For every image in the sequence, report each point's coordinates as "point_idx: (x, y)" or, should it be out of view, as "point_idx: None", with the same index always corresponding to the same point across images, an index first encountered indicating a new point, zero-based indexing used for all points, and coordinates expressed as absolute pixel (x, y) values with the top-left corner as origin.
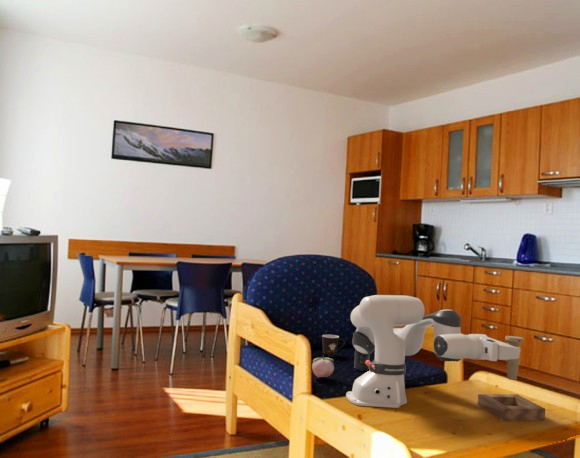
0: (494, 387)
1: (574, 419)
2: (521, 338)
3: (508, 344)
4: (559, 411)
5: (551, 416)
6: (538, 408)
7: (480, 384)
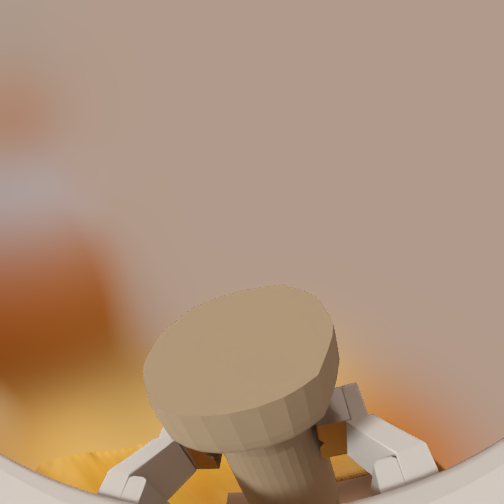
0: (95, 463)
1: None
2: (310, 296)
3: (455, 492)
4: None
5: (346, 457)
6: None
7: (66, 475)
